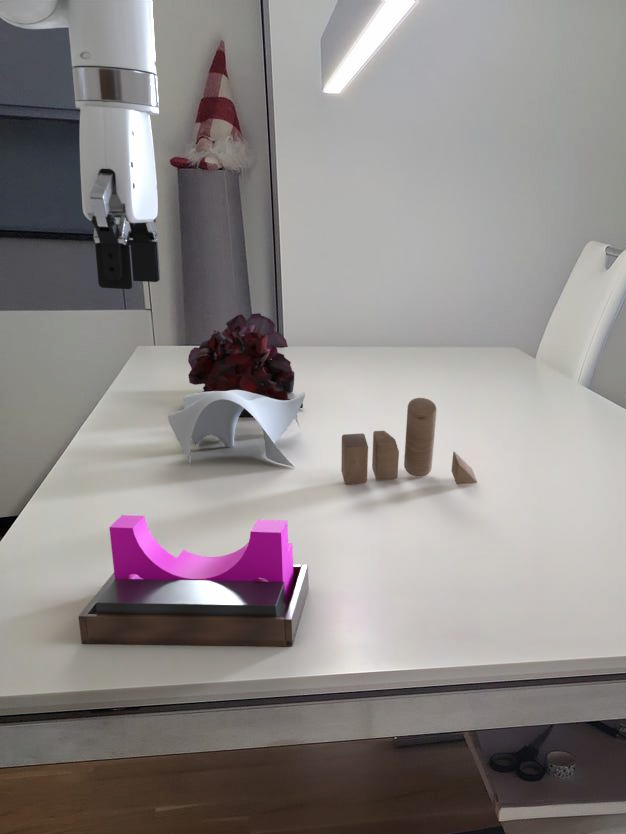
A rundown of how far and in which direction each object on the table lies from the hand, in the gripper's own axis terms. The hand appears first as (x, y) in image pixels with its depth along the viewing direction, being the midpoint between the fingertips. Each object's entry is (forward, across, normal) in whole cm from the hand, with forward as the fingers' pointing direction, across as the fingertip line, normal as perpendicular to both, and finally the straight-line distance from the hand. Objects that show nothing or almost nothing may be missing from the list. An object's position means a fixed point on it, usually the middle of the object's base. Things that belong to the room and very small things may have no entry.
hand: (131, 284), depth 104 cm
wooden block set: (+26, -29, +27) cm, 48 cm away
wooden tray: (+26, +23, +11) cm, 36 cm away
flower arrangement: (+26, -82, -4) cm, 86 cm away
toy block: (+26, +20, +11) cm, 34 cm away
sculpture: (+27, -45, +2) cm, 52 cm away
